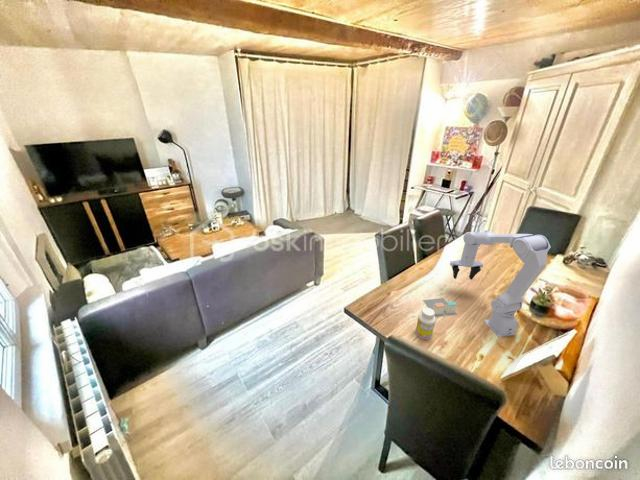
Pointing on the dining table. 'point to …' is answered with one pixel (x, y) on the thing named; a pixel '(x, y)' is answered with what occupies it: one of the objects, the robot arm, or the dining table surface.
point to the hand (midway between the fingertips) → (462, 278)
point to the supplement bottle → (426, 323)
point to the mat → (431, 302)
